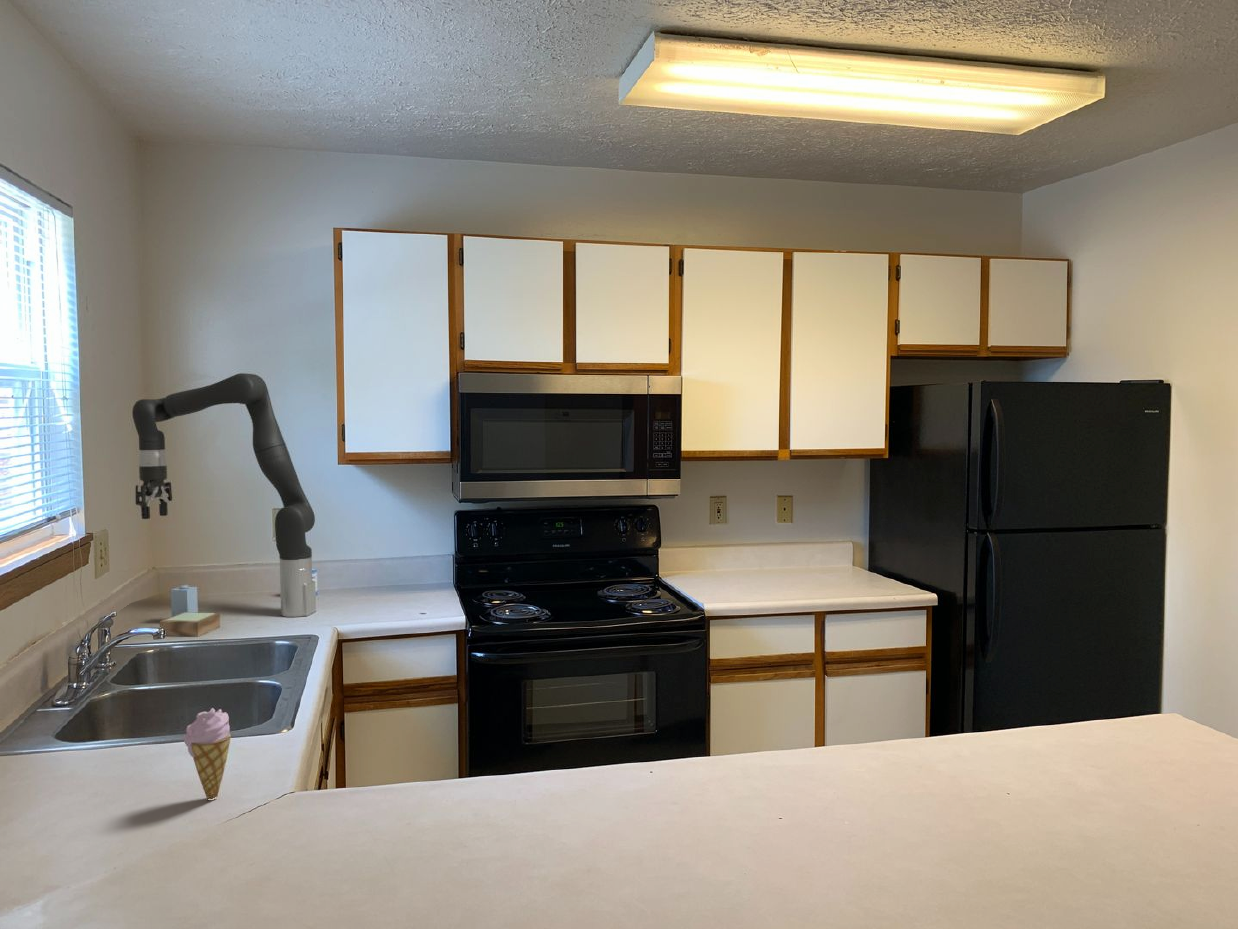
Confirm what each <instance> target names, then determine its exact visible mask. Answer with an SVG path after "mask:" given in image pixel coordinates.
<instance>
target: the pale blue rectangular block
mask: <svg viewBox="0 0 1238 929" xmlns="http://www.w3.org/2000/svg"><path fill="white" fill-rule="evenodd" d="M198 602H199V601H198V586H189V585H188V584H181V585H179V586H178V587H176V588H172V589H171V590H170V603H171V604H170V605H171V606H170V608H171V612H170V613H171V617H173V616H175V615H178V614H180V613H183V612H193V613H199V608H198V607H199V606H198V604H199V603H198Z"/></svg>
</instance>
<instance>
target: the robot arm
mask: <svg viewBox="0 0 1238 929" xmlns="http://www.w3.org/2000/svg"><path fill="white" fill-rule="evenodd" d="M226 404H227V405H228V404H229V405H230V404H240V405H245V407H246V410H247V412H248V414H249V417H250V420H251V423H252V449H253V452H254V456H255V458H256V461H257V463H258V467H259V468H260V470H261V472H262V473H263V475H264V476H265V477H266V479H267V481H269V482H270V483H271V485H272V487H274V489H276V492H277V493H278V495H279V497H280V499H281V502H282V506H283V507H282V508H280V509H279V510H278V511H277V512H276V515H275V519H274V532H275V545H276V546H275V547H276V549H277V551H278V555H279V558H278V559H279V586H280V587H279V588H280V590H279V592H280V593H279V594H280V615H281V616H283V617H288V618H295V617H296V618H298V617H308V616H310V615H312V614H313V613H316V612H317V604H316V603H317V602H316V600H317V599H316V597H317V595H316V593H315V581H312V569H313V551H312V548H311V546H310V545H308V543H307V541H306V539H307V538H306V533H308V532H310V531H311V530H312V529H313V528H314V526H315V522H316V520H315V519H316V517H315V516H316V515H315V513H314V510H313V508H312V506H311V504H310V502H309V500H308V498H307V495H306V494H305V492H304V489H303V488H302V486H301V485H302V484H301V482H300V479H299V477H298V474H297V471H296V469H295V466H294V464H293V461H292V458H291V455H290V453H289V452H290V451H289V450H288V447H287V445H286V442H285V440H284V439H285V438H284V437H283V435H282V434H283V433H282V431H281V429H280V426H279V423H278V420H277V419H276V415H275V413H274V410H273V409H274V408H273V405H272V401H271V397H270V394H269V390H268V386H267V383H266V382H265V380H264V379H263V378H262V377H261V376H259V375H257V374H256V373H255V374H254V373H244V372H243V373H242V372H241V373H236V374H233V375H231V376H229V377H227V378H225V379H222V380H220V381H217V382H215V383H212V384H208V385H205V386H202V387H197V388H193V389H187V390H183V391H178V392H174V393H171V394H167V396H165V397H162V398H157V399H156V398H155V399H153V398H152V399H151V398H150V399H149V398H148V399H147V398H144V399H143V398H142V399H139V400H137V401H135V403H134V405H133V407H132V420H133V423H134V426H135V430H136V433H137V435H138V449H139V450H138V473H139V474H138V475H139V476H138V477H139V478H138V479H139V480H140V481H142V484H140V485H139V484H136V485H135V505H136V506H139V507H140V508H141V509H140V510H141V514H140V515H141V519H143V520H149V519H150V518H151V508H150V507H151V506H150V505H151V503H152V501H154V499H156V500H157V501H158V503H159V504H158V507H159V508H158V509H159V510H158V512H159V516H160V517H165V516H168V513H169V512H168V509H169V508H168V504H169V502H171V501H173V492H172V483H171V481H165V480H167V479H168V466H167V465H168V463H167V462H168V461H167V453H166V443H165V442H166V440H165V433H164V432H163V431H162V430H159V429H158V426H157V423H160V422H164V421H165V422H166V421H168V420H171V419H174V418H177V417H182V416H185V415H191V414H194V413H197V412H200V411H203V410H205V409H208V408H210V407H214V406H219V405H226Z"/></svg>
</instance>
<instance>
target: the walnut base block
mask: <svg viewBox="0 0 1238 929" xmlns="http://www.w3.org/2000/svg"><path fill="white" fill-rule="evenodd" d="M160 627H161V628H163V629H164V630H165V631H166V636H165V637H193V638H195V637H196V638H199V637H200V636H203V635H205V634H207V633H210V632H212V631H214V630H217V629H219V628H220V627H221V614H220V612H198V613H193V612H183V613H180V614H178V615H175V616H173V617H172V616H170V617H168V618H164V619H162V620H160V621H159V628H160Z"/></svg>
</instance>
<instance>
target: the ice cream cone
mask: <svg viewBox="0 0 1238 929" xmlns="http://www.w3.org/2000/svg"><path fill="white" fill-rule="evenodd" d="M195 717H196V719H195V720H194V721H193V722H192V723H191V724H188V725H187V726H186V730H185V731H186V733H185V734H184V736H183V742H184V744H185V746H186V747H187V752H188V754H189V756H191V757H192V758H193V762H194V766H195V769H196V772H197V774H198V777H199V780H200V784H201V786H202V789H203V791H204V794H205V797H206V799H213V798H215V797H217V798H218V795H219V792H220V789H221V784H222V781H223V776H224V773H225V772H224V771H225V768H226V763H227V758H228V754H229V748H230V742H231V735H232V734H231V733H230V730H231V728H230V727H231V726H230V723H229V721H230V718H229V714H228V713H227V712H226V711H225V712H223V710H222V709H220V708H219V709H218V710H215V709H214V707H212V708H210V710H209V711H202V712H198V713H197V715H196V716H195Z"/></svg>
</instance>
